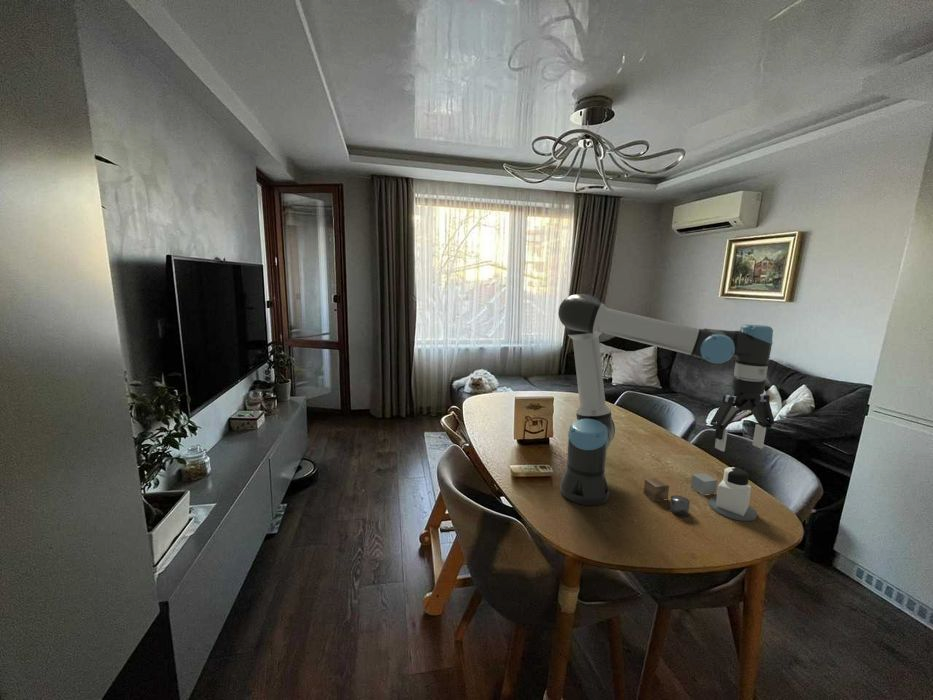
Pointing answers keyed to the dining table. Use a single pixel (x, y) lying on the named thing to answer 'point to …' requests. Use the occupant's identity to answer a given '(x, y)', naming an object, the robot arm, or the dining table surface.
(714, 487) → the grey block
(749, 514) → the slate coaster
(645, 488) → the walnut block
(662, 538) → the dining table surface
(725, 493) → the medicine bottle
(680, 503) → the metal tin
